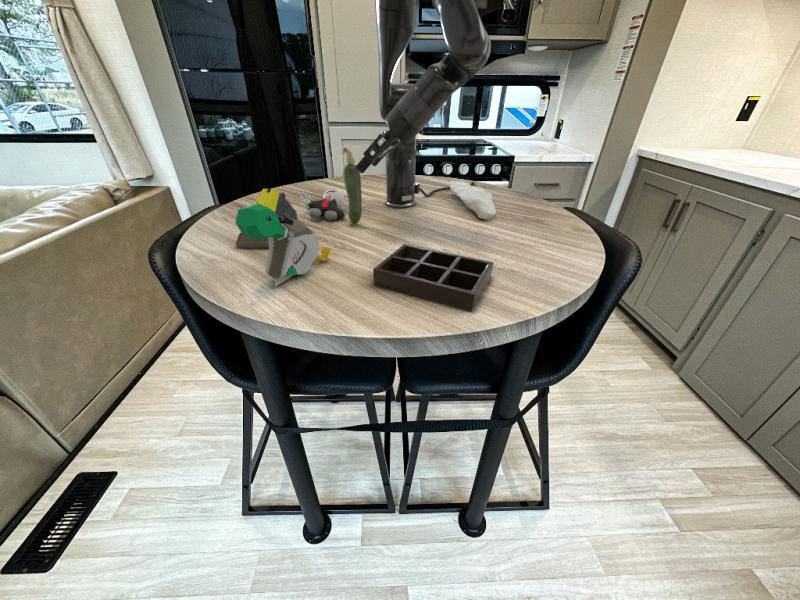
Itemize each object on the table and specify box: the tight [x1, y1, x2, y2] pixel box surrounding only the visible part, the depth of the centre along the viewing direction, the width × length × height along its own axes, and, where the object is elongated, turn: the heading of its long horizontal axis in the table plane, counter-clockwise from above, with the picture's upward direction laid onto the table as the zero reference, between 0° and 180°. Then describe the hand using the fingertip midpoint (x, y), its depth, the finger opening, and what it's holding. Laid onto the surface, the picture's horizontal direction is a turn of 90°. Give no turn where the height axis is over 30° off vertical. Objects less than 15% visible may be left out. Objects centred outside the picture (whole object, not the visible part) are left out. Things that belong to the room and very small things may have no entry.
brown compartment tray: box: [372, 243, 494, 312], centre depth 63 cm, size 13×20×4 cm
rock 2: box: [449, 180, 497, 220], centre depth 104 cm, size 14×5×30 cm
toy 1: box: [234, 188, 332, 288], centre depth 63 cm, size 6×17×20 cm
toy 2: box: [297, 188, 346, 221], centre depth 97 cm, size 15×7×15 cm
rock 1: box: [235, 191, 299, 249], centre depth 79 cm, size 11×11×15 cm
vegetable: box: [342, 147, 363, 226], centre depth 85 cm, size 4×4×20 cm
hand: (365, 166), depth 80 cm, fingers open, 8 cm apart
